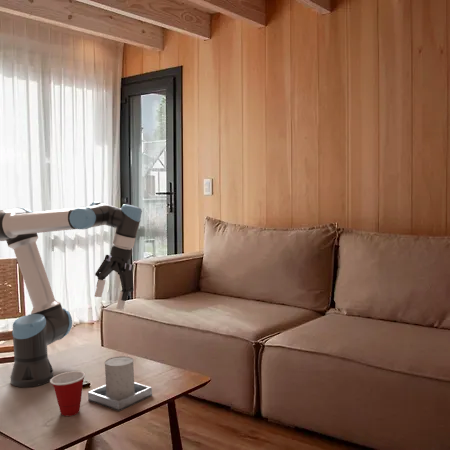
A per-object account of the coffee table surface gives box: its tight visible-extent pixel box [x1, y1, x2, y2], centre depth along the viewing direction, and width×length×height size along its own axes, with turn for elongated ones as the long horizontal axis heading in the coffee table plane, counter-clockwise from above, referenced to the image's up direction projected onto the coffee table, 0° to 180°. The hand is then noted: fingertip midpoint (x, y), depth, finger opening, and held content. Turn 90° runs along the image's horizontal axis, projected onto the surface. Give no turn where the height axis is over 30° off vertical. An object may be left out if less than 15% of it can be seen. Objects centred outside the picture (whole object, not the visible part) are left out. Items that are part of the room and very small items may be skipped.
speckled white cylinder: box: [104, 355, 135, 401], centre depth 192 cm, size 10×10×12 cm
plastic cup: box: [49, 370, 86, 417], centre depth 181 cm, size 11×11×12 cm
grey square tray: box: [87, 381, 153, 412], centre depth 192 cm, size 15×15×3 cm
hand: (108, 302), depth 209 cm, fingers open, 13 cm apart
